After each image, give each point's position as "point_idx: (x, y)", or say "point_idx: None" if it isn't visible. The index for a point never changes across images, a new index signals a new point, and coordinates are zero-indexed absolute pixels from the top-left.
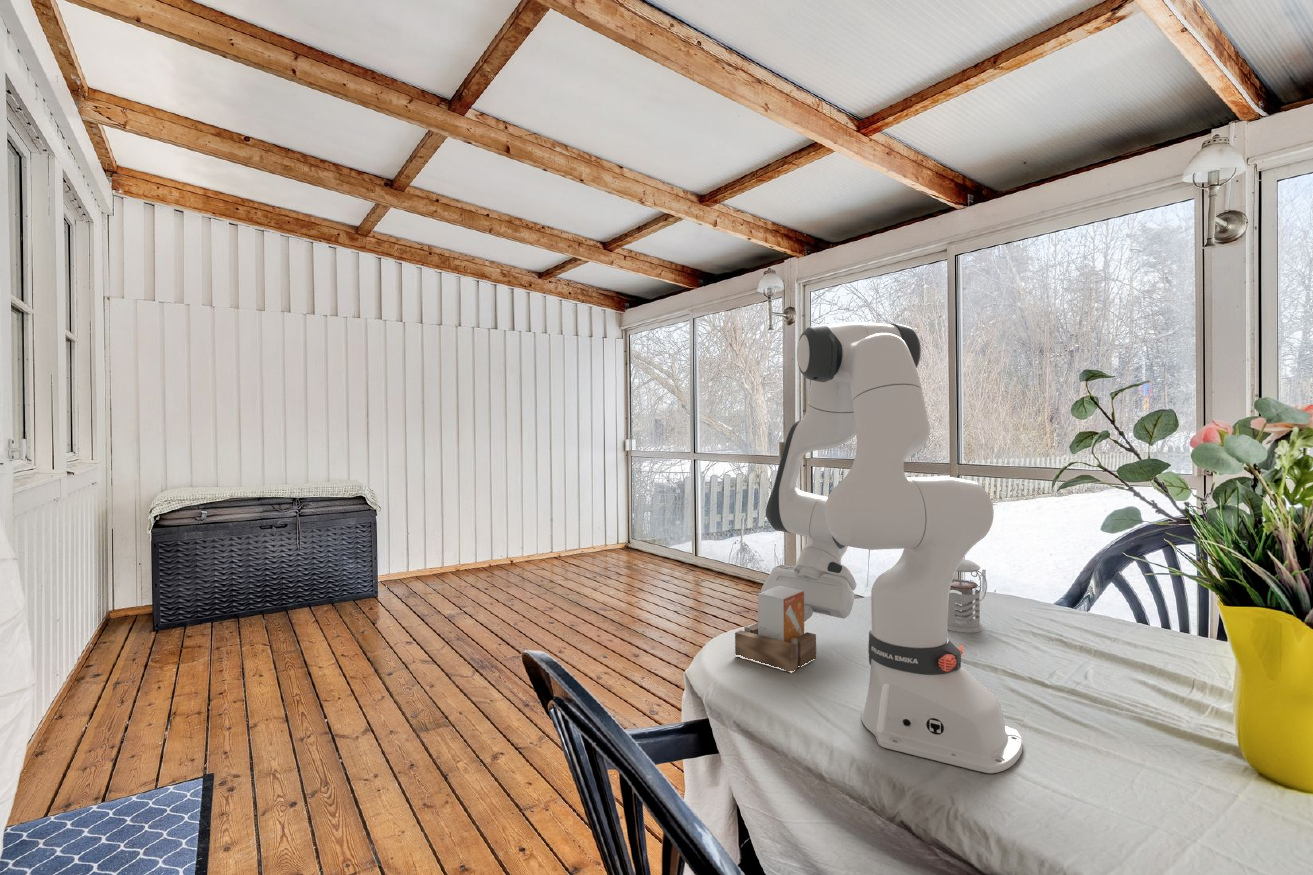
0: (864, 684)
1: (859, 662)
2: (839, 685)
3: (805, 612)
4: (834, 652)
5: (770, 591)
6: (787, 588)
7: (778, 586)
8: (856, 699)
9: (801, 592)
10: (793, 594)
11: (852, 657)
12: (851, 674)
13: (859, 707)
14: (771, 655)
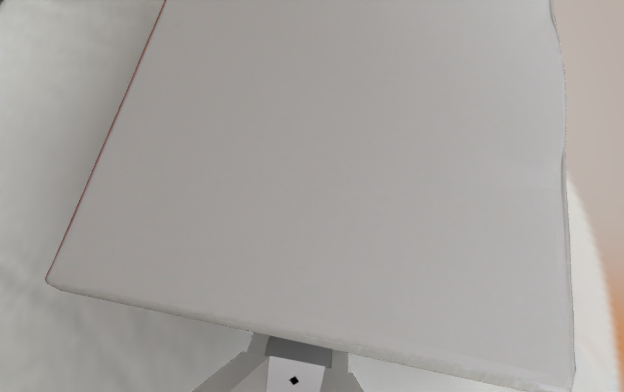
0: (9, 129)
1: (23, 306)
2: (83, 91)
3: (206, 385)
4: (132, 370)
5: (473, 7)
6: (339, 253)
7: (541, 315)
8: (33, 37)
9: (85, 198)
10: (162, 26)
11: (52, 349)
12: (51, 181)
13: (25, 4)
14: None
